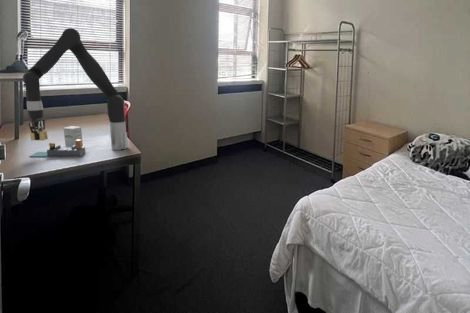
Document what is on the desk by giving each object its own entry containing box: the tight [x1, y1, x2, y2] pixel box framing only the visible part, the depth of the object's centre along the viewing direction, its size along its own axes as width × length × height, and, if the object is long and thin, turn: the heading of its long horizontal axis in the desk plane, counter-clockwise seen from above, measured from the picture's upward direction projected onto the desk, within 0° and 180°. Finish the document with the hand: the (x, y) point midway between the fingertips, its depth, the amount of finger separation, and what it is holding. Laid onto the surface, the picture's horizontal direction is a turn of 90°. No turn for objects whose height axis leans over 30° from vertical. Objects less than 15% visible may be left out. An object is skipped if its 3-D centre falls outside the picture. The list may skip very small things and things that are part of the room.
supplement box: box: [63, 125, 84, 147], centre depth 210 cm, size 7×7×13 cm
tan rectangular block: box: [29, 129, 48, 142], centre depth 190 cm, size 7×4×5 cm, turn 94°
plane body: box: [46, 138, 86, 158], centre depth 192 cm, size 18×8×9 cm, turn 94°
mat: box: [29, 151, 49, 158], centre depth 193 cm, size 9×9×1 cm
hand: (39, 138), depth 190 cm, fingers closed on tan rectangular block, 4 cm apart
